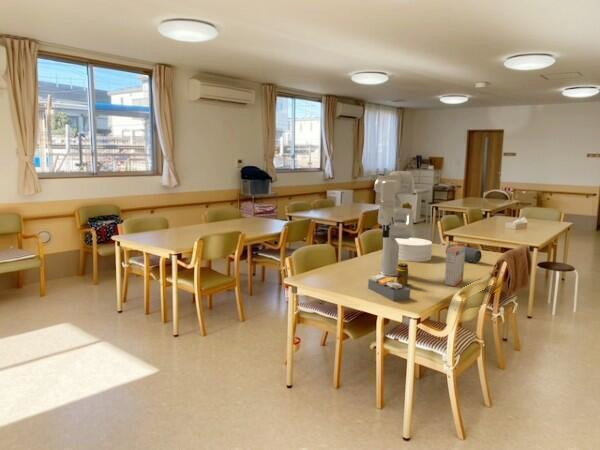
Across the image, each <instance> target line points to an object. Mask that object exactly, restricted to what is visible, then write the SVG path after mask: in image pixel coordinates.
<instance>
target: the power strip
mask: <svg viewBox="0 0 600 450" xmlns="http://www.w3.org/2000/svg"><path fill="white" fill-rule="evenodd" d="M367 283H368V285H367V289H369V290H371V291H373V292H374V293H376V294H377V295H381V296H382V297H384V298H386V299H388V300H390V301H392V302H396V301H398V302H399V301H403V300H405V301H406V300H410V299H411V289H410V288H408V287H404V286H402V288H398V289H395V288H392V287H390V286H388V285H381V284H379V282H378V281H377V282H375V281H373V280H371V278H368V281H367ZM393 283H396V282H395V281H394V282H393Z"/></svg>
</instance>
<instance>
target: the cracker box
mask: <svg viewBox="0 0 600 450" xmlns="http://www.w3.org/2000/svg"><path fill="white" fill-rule="evenodd" d="M454 245H455V246H453V247H451V248H448V249H447V254H446V253H445V255H446V256H445V258H446V259H445V274H444V275H445V277H444V285H446V286H451V287H455V286H457V285H459V284H461V283H462V282H463V281H464V271H465V262H464V258H465V247H466V246H464V245H459V244H457V245H456V244H454Z"/></svg>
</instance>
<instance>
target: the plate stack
mask: <svg viewBox="0 0 600 450" xmlns="http://www.w3.org/2000/svg"><path fill="white" fill-rule="evenodd" d="M395 240H396V241H397V242H398V244H399V255H398V261H399V260H400V261H405V262H426V261H427V260H428V261H430V260H432V252H433V250H432V249H433V242H432V241H431V240H428V239H426V238H425V239H424V238H417V237H410V238H409V239H399V238H395ZM428 261H427V262H428Z"/></svg>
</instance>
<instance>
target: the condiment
mask: <svg viewBox="0 0 600 450" xmlns="http://www.w3.org/2000/svg"><path fill="white" fill-rule="evenodd" d="M408 267H409V266H408V264H407V263H403V262H402V263H401V262H400V263H398V269H397V276H396V283H398V284H401V285H402V286H404V287H406V288H408V287H410V286H412V283H408V281H409V280H408V279H409V268H408Z"/></svg>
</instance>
